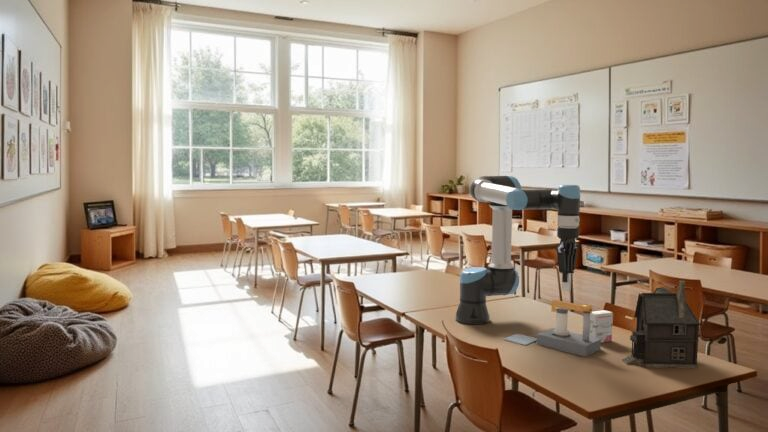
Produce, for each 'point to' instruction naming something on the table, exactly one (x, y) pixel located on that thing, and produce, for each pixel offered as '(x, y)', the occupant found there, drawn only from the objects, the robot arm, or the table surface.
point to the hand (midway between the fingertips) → (566, 290)
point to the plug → (561, 323)
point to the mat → (520, 339)
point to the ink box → (601, 325)
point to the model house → (664, 331)
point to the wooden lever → (571, 306)
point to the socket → (572, 340)
